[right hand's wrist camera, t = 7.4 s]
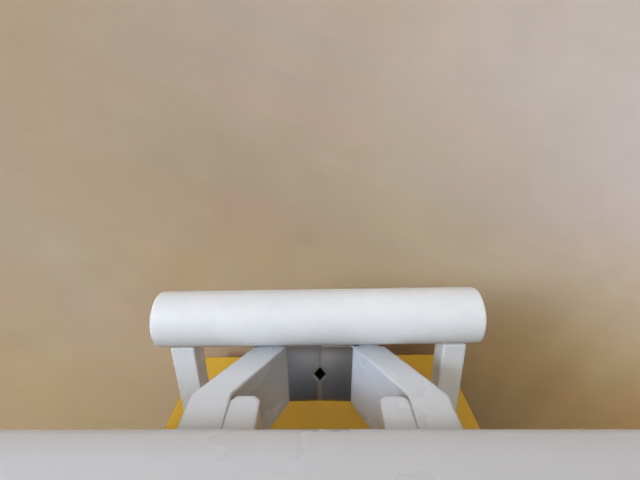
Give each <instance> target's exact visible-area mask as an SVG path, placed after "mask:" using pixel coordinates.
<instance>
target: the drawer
mask: <svg viewBox="0 0 640 480" xmlns="http://www.w3.org/2000/svg"><path fill="white" fill-rule="evenodd" d="M486 328H487V315H486V308H485V304H484V301H483V298H482V296H481V294H480V293H479V291H478V290H477V289H475V288H473V287H427V288H359V289H291V290H223V291H165V292H162V293H160V294H159V295H158V296H157V298H156V299H155V301H154V303H153V306H152V310H151V315H150V333H151V338H152V340H153V342H154V343H155V345H157V346H159V347H172V348H171V352H172V357H173V362H174V366H175V371H176V376H177V381H178V386H179V390H180V395H181V396H180V398H179V400H178V402H177V404H176V406H175V409H174V411H173V413H172V415H171V417H170V419H169V421H168V423H167V425H166V427H165V429H177V427H178V424H179V422H180V420H181V418H182V415H183V413H184V411H185V409H186V406H187V404H188V402H189V400H190V398H191V395H192V394H193V393H194V392H196V391H197V390H198V389H200V388H201V387H202V386H204V385H205V384H206V383H208V382H209V381H210V380H212V379H213V378H214V377H216V376H217V375H218V374H220V373H221V372H222V371H224V370H225V369H226V368H227V367H229V366H230V365H231V364H233V363H234V362H235V361H237V360H238V359H239V358H241V357H205V354H204V349H203V347H214V346H289V345H363V344H435V351H434V354H426V355H396V356H398V357H399V358H400V359H402V360H403V361H404V362H406V363H407V364H408V365H410V366H411V367H412V368H414V369H415V370H416V371H417V372H419V373H420V374H421V375H423V376H424V377H425V378H427V379H428V380H429V381H431V382H432V383H433V384H435V385H436V386H437V387H439V388H440V389H441V390H442V391H444V392H445V393H446V394H448V395H449V398H450V400H451V402H452V404H453V407H454V409H455V411H456V414H457V416H458V418H459V420H460V423H461V425H462V427H463V429H480V427H479V425H478V423H477V421H476V419H475V417H474V415H473V413H472V411H471V409H470V407H469V405H468V403H467V401H466V399H465V397H464V395H463V393H462V391H461V388H460V383H461V377H462V371H463V365H464V359H465V353H466V346H467V345H466V343H478V342H480V341H482V340H483V338H484V336H485V333H486ZM270 429H370V428H369V426H368V425H367V424H366V422H365V421H364V420H363V418H362V417H361V416H360V414H359V413H358V412H357V410H356V409H355V408H354V407H353V405H352V404H351V401H289V404H288V405H287V407H286V408H285V409H284V411H283V412H282V413H281V414H280V416H279V417H278V418H277V420H276V421H275V422H274V424H273V425H272V426H271V428H270Z"/></svg>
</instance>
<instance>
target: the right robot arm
mask: <svg viewBox="0 0 640 480" xmlns="http://www.w3.org/2000/svg"><path fill="white" fill-rule="evenodd" d="M289 401H351V404H352V405H353V407H354V408H355V409H356V410H357V412H358V413H359V414H360V416H361V417H362V418H363V420H364V421H365V422H366V424H367V425H368V426H369V428H370V429H270V428H271V426H272V425H273V424H274V422H275V421H276V420H277V418H278V417H279V416H280V414H281V413H282V412H283V411H284V409H285V408H286V407H287V405H288V404H289ZM0 480H640V429H463V427H462V425H461V423H460V420H459V418H458V416H457V414H456V411H455V409H454V407H453V404H452V402H451V400H450V398H449V395H448V394H446V393H445V392H444V391H442V390H441V389H440V388H439V387H437V386H436V385H435V384H433V383H432V382H431V381H429V380H428V379H427V378H425V377H424V376H423V375H421V374H420V373H419V372H417V371H416V370H415V369H414V368H412V367H411V366H410V365H408V364H407V363H406V362H404V361H403V360H402V359H400V358H399V357H398V356H396V355H395V354H394V353H392V352H391V351H390V350H388V349H387V348H386V347H385V346H379V344H363V345H289V346H255V347H254V348H253V349H251V350H250V351H249V352H247V353H246V354H245V355H243V356H242V357H241V358H239V359H238V360H237V361H235V362H234V363H233V364H231V365H230V366H229V367H227V368H226V369H225V370H224V371H222V372H221V373H220V374H218V375H217V376H216V377H214V378H213V379H212V380H210V381H209V382H208V383H206V384H205V385H204V386H202V387H201V388H200V389H198V390H197V391H196V392H194V393H193V394H192V395H191V398H190V400H189V402H188V404H187V406H186V409H185V411H184V413H183V415H182V418H181V420H180V422H179V424H178V427H177V429H0Z"/></svg>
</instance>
